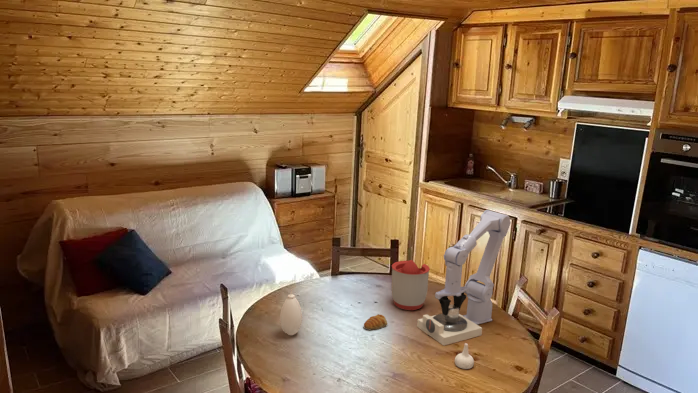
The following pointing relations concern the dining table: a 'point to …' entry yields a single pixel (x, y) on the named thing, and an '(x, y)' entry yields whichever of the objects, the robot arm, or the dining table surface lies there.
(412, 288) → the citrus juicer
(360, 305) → the dining table surface
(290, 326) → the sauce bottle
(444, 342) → the base
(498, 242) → the robot arm
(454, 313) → the cylinder
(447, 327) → the pan
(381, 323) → the pastry
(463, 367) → the garlic bulb
